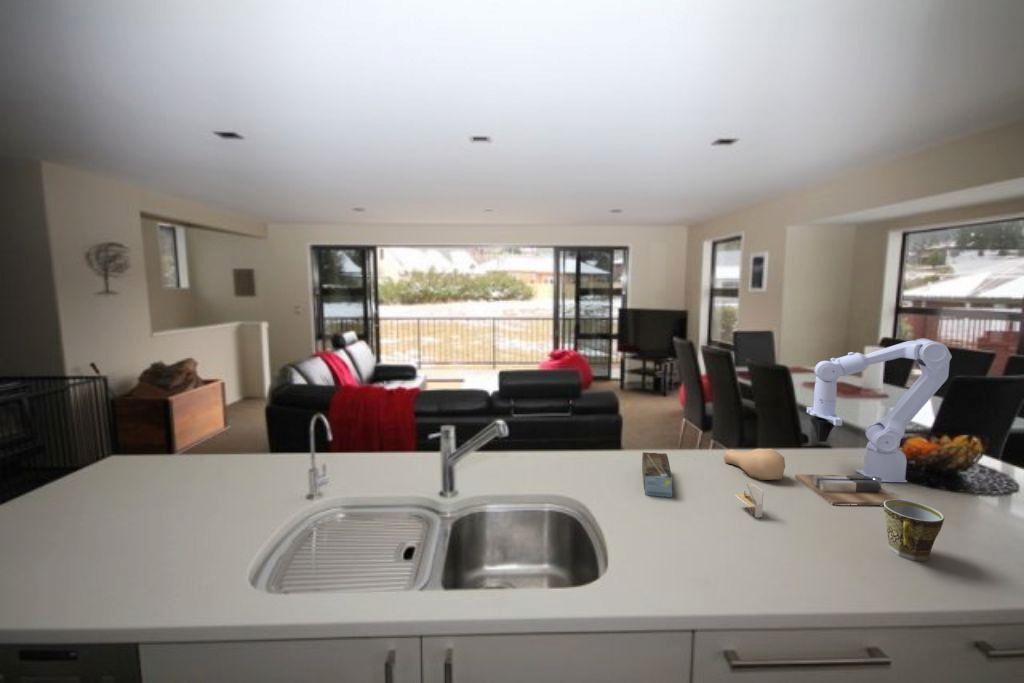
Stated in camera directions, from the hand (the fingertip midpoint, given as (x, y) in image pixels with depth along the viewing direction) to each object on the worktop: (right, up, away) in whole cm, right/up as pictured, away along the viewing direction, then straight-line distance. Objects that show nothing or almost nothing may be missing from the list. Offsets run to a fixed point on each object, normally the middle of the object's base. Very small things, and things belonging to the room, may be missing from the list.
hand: (821, 441), depth 146 cm
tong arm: (-2, -10, -14) cm, 17 cm away
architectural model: (-36, -14, -26) cm, 46 cm away
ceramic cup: (-12, -15, -46) cm, 50 cm away
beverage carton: (-55, -11, -8) cm, 57 cm away
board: (-3, -11, -14) cm, 18 cm away
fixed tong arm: (-4, -10, -17) cm, 20 cm away
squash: (-23, -10, 0) cm, 25 cm away
